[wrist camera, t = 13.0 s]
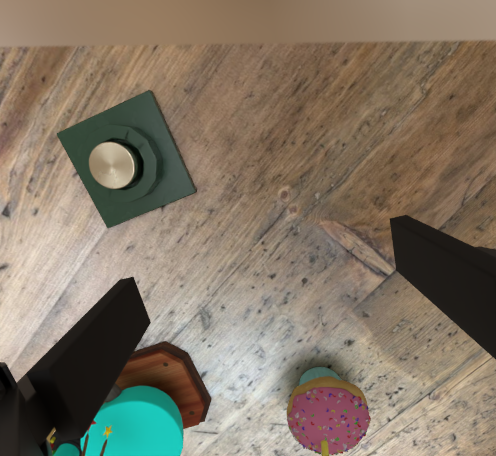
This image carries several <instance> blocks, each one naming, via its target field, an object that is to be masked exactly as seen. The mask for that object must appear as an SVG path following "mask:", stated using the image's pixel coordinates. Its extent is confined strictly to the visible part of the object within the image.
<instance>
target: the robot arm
mask: <svg viewBox="0 0 496 456" xmlns="http://www.w3.org/2000/svg"><path fill="white" fill-rule="evenodd" d="M390 224H391V232H392V240H393V248H394V256H395V263H396V271H398V272H399V273H400V274H401V275H402V276H403V277H404V278H405V279H407V280H408V281H409V282H410V283H411V284H412V285H413V286H414V287H415V288H417V289H418V290H419V291H420V292H421V293H422V294H423V295H424V296H426V297H427V298H428V299H429V300H430V301H431V302H432V303H433V304H434V305H436V306H437V307H438V308H439V309H440V310H441V311H442V312H443V313H445V314H446V315H447V316H448V317H449V318H450V319H451V320H452V321H453V322H455V323H456V324H457V325H458V326H459V327H460V328H461V329H462V330H464V331H465V332H466V333H467V334H468V335H469V336H470V337H471V338H472V339H474V340H475V341H476V342H477V343H478V344H479V345H480V346H481V347H482V348H484V349H485V350H486V351H487V352H488V353H489V354H490V355H491V356H493V357H494V358H495V359H496V250H494V249H489V248H484V247H473V246H471V245H469V244H466V243H464V242H462V241H460V240H458V239H456V238H454V237H452V236H449V235H447V234H445V233H443V232H441V231H439V230H437V229H435V228H432V227H430V226H428V225H426V224H424V223H422V222H420V221H418V220H415V219H413V218H411V217H409V216H407V215H404V216H399V217H395V218H391V219H390ZM150 323H151V322H150V319H149V317H148V314H147V311H146V309H145V306H144V303H143V301H142V298H141V296H140V293H139V290H138V288H137V285H136V282H135V280H134V277H130V278H126V279H122V280H119V281H118V282H117V283H116V284H115V285H114V286H113V287H112V288H111V289H110V290H109V291H108V292H107V293H106V294H105V295H104V296H103V297H102V298H101V299H100V300H99V301H98V302H97V303H96V304H95V305H94V306H93V307H92V308H91V309H90V310H89V311H88V312H87V313H86V314H85V315H84V316H83V317H82V318H81V319H80V320H79V321H78V322H77V323H76V324H75V325H74V326H73V327H72V328H71V329H70V330H69V331H68V332H67V333H66V334H65V335H64V336H63V337H62V338H61V339H60V340H59V341H58V342H57V343H56V344H55V345H54V346H53V347H52V348H51V349H50V350H49V351H48V352H47V353H46V354H45V355H44V356H43V357H42V358H41V359H40V360H39V361H38V362H37V363H36V364H35V365H34V366H33V367H32V368H31V369H30V370H29V371H28V372H27V373H26V374H25V375H24V376H23V377H22V378H21V379H20V380H19V381H18V382H17V383H16V381H15V379H14V378H13V376H12V374H11V372H10V370H9V368H8V367H7V365H6V363H2V362H0V456H53V455H52V448H51V446H50V444H49V442H48V440H47V437H48V436H49V434H50V433H51V431H52V430H53V429H54V428H55V430H56V432H57V433H58V435H59V437H60V439H61V441H67V440H73V439H78V438H83V437H84V435H85V434H86V432H87V430H88V428H89V427H90V425H91V423H92V422H93V420H94V418H95V417H96V415H97V413H98V411H99V410H100V408H101V406H102V405H103V403H104V401H105V399H106V398H107V396H108V394H109V393H110V391H111V389H112V388H113V386H114V384H115V382H116V381H117V379H118V377H119V376H120V374H121V372H122V370H123V369H124V367H125V365H126V364H127V362H128V360H129V359H130V357H131V355H132V353H133V352H134V350H135V348H136V347H137V345H138V343H139V341H140V340H141V338H142V336H143V335H144V333H145V331H146V330H147V328H148V326H149V324H150Z"/></svg>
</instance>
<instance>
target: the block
mask: <svg viewBox="0 0 496 456" xmlns="http://www.w3.org/2000/svg"><path fill="white" fill-rule="evenodd" d="M57 136H58V138H59V139H60V141H61V143H62V145H63V147H64V149H65V150H66V152H67V154H68V156H69V158H70V160H71V162H72V163H73V165H74V167H75V169H76V171H77V173H78V174H79V176H80V178H81V180H82V182H83V184H84V186H85V187H86V189H87V191H88V193H89V195H90V197H91V198H92V200H93V202H94V204H95V206H96V208H97V210H98V211H99V213H100V215H101V217H102V219H103V221H104V222H105V224H106V226H107V228H110V227H112V226H115V225H117V224H120V223H122V222H125V221H127V220H130V219H132V218H134V217H137V216H139V215H142V214H144V213H147V212H149V211H152V210H154V209H156V208H159V207H161V206H164V205H166V204H169V203H171V202H174V201H176V200H178V199H181V198H183V197H186V196H188V195H191V194H193V193H195V192H197V190H196V188H195V186H194V184H193V181H192V179H191V177H190V175H189V173H188V170H187V168H186V166H185V164H184V161H183V159H182V157H181V155H180V153H179V150H178V148H177V146H176V144H175V141H174V139H173V137H172V135H171V133H170V130H169V128H168V126H167V124H166V121H165V119H164V117H163V115H162V112H161V110H160V108H159V106H158V104H157V101H156V99H155V97H154V95H153V92H152V91H150V90H148V91H146V92H144V93H142V94H140V95H138V96H136V97H133V98H131V99H129V100H127V101H125V102H123V103H121V104H119V105H116V106H114V107H112V108H110V109H108V110H106V111H104V112H101V113H99V114H97V115H95V116H93V117H91V118H89V119H87V120H84V121H82V122H80V123H78V124H76V125H74V126H72V127H70V128H67V129H65V130H63V131H61V132H59V133H57ZM103 142H123V143H126V144H128V145H130V146H131V147H133V148H134V149H135V150H136V152H137V153H138V155H139V157H140V159H141V163H142V171H141V174H140V176H139V178H138V179H137V181H136V182H135V183H133V184H131V185H129V186H126V187H123V188H119V189H111V188H107V187H105V186H103V185H101V184H100V183H98V182H97V181H96V180H95V178H94V177H93V175H92V173H91V171H90V168H89V157H90V154H91V152H92V150H93V149H94V148H95V147H96V146H97V145H99V144H101V143H103Z"/></svg>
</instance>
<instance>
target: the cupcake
mask: <svg viewBox="0 0 496 456" xmlns="http://www.w3.org/2000/svg"><path fill="white" fill-rule="evenodd" d="M370 420H371V418H370V416H369V412H368V406H367V401H366V398H365V396H364V394H363V392H362V391H361V390H360V389H359V388H358V387H357V386H355V385H353V384H351V383H349V382H347V381H343V380H341V379H340V378H339V376H338V375H337V374H336V373H335V372H334V371H333V370H331V369H329V368H326V367H315V368H311V369H309V370H307V371H306V372H305V373H304V374H303V375H302V377H301V378H300V381H299V386H297V387H296V388H295V389H294V390H293V392H292V395H291V397H290V400H289V403H288V407H287V421H288V425H289V429H290V431H291V433H292V434H293V438H294V437H295V440H296V441H298V442H299V444H302V445H303V449H305V447H306V449H307V448H308V449H309V450H311V451H315V453H318V454H321V453H322V456H329V454H332V455H333V454H336V455H337V454H338V453H343V452H348V450H349V449H353V447H354V446H356V445H357V444H358V442H359V441H360V440H361V439H362V437H363V436H366V432H367V428H368V426H369V423H370Z"/></svg>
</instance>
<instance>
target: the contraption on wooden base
mask: <svg viewBox="0 0 496 456" xmlns="http://www.w3.org/2000/svg"><path fill="white" fill-rule="evenodd" d="M210 402H211V397H210V395H209V393H208V391H207V390H206V388H205V386H204V384H203V382H202V380H201V378H200V376H199V374H198V372H197V370H196V368H195V366H194V364H193V362H192V360H191V358H190V356H189V355H188V353H187V352H185V351H183V350H181V349H179V348H177V347H175V346H173V345H171V344H169V343H168V342H163V343H160V344H156V345H153V346H150V347H147V348H144V349H141V350H138V351H135V352H133V353H132V355H131V357H130V359H129V360H128V362H127V364H126V365H125V367H124V369H123V370H122V372H121V374H120V376H119V377H118V379H117V381H116V382H115V384H114V386H113V388H112V389H111V391H110V393H109V394H108V396H107V398H106V399H105V401H104V403H103V405H102V406H101V408H100V410H99V411H98V413H97V415H96V417H95V418H94V420H93V422H92V423H91V425H90V427H89V428H88V430H87V432H86V434H85V435H84V437H83V438H78V439H73V440H67V441H61V439H60V437H59V435H58V433H57V432H56V431H55V428H54V429H53V430H52V431H51V433H50V434H49V436H48V437H47V440H48V442H49V444H50V446H51V448H52V455H53V456H180V455H181V452H182V448H183V429H185V428H188V427H192V426H196V425H199V423H200V422H204V421H205V418H206V415H207V412H208V409H209V406H210ZM54 431H55V432H54ZM53 432H54V434H53ZM52 434H53V435H52Z"/></svg>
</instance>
